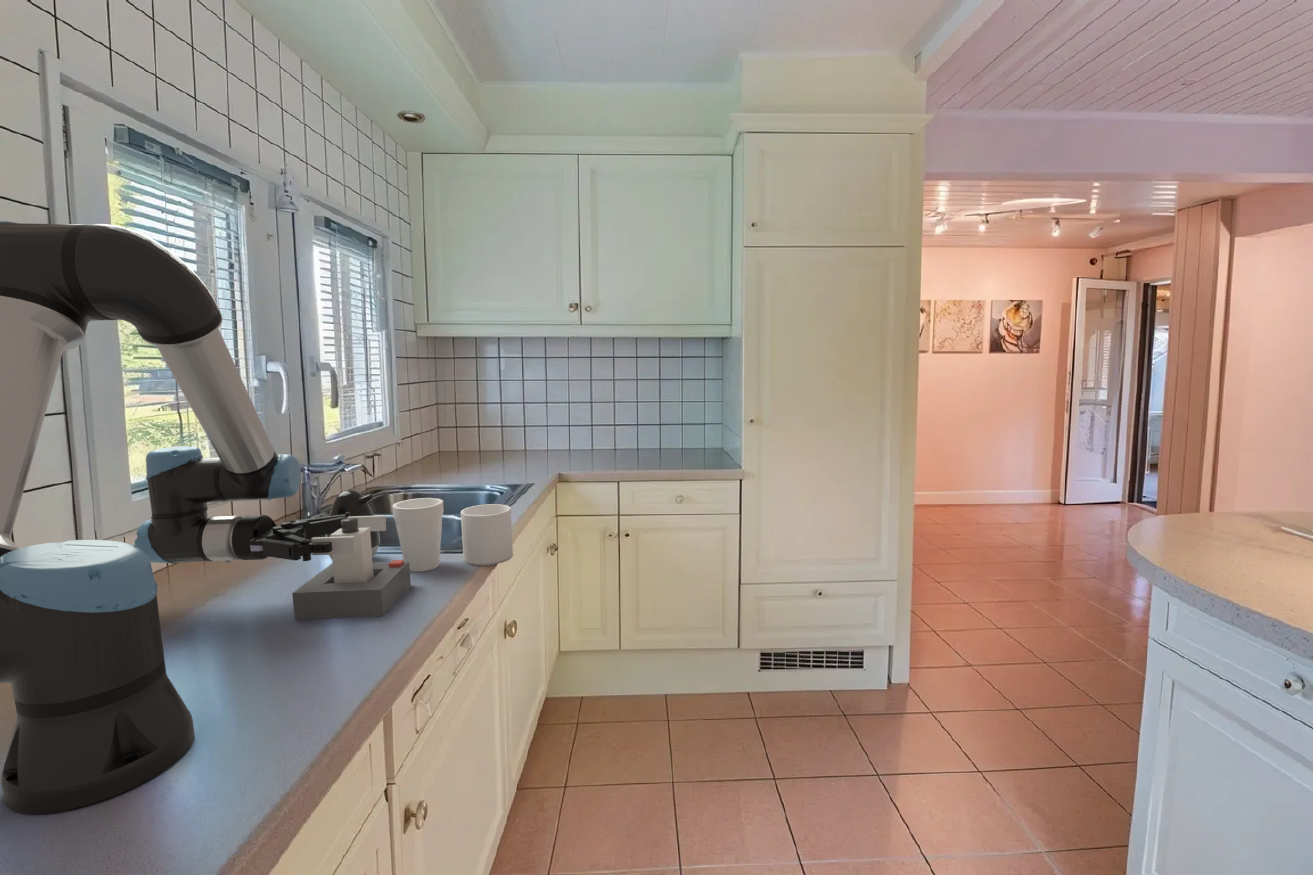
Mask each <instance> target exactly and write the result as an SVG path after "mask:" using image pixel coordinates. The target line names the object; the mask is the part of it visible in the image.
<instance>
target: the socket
mask: <svg viewBox="0 0 1313 875" xmlns="http://www.w3.org/2000/svg"><path fill="white" fill-rule="evenodd" d="M373 573H374V578H373V579H372V580H371V581H370V582H356V583H334V573H333V563H331V564H329V565H328V566H327V567H325V568H324V569H323V570H322V571H320V572H318V574H315V575H314V576H313V577H312V578H310V579H309V580H308V581H306V582H305V583H304V584H302V585H301V586H299V587H298V588H297V589H295V590H294V591H293V592H292V594H291V595H292V605H293V614H294V615H293V616H294V620H296V621H297V620H313V619H317V620H320V619H339V618H342V619H343V618H364V617H384V616H385V615H386V613H387V612H388V611H389V610H390V609H391V608H392V607H393V606H394V605H395V603H396V602H397V601H398V600H399V598H401V597H402V595H403V594H404V593H405V592H406V591H407V590H408V589H409V587H410V586H411V585H412V583H411V571H410V567H409V561H404V559H393V560H392V561H382V562H381V561H380V562H379V561H378V562H373Z"/></svg>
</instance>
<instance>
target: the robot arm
mask: <svg viewBox="0 0 1313 875" xmlns="http://www.w3.org/2000/svg"><path fill="white" fill-rule="evenodd" d="M117 320H118V321H124V322H127V323H129V324H131V325H133V326H134V327H135V330H136V331H137V332H138V334H139V336H140V338H141V339H142V340H143V341H144V342H146V343H148V344H149V345H150V344H151V345H154V346H156V348H157V350H158V351H159V353H160V354H161V356H162V358H163V360H164V361H165V363H166V366H167V367H168V369H169V371H170V373H171V375H172V376H173V378H174V379H175V381H176V384H177V385H178V386H179V389H180V390H181V393H182V395H183V396H184V398H185V399H186V402H187V403H188V405H189V406H190V408H191V411H192V412H193V414H194V415H195V417H196V419H197V420H198V422H199V424H200V425H201V428H202V429H203V431H204V433H205V435H206V437H207V439H208V440H209V442H210V444H211V445H212V447H213V449H214V451H215V453H216V455H217V457H204V456H203V454H202V450H201V449H200V448H199V447H198V446H195V445H194V446H188V445H183V446H171V447H163V448H157V449H153V450H151V451H149V452H148V453H147V454H146V456H145V468H146V469H145V470H146V476H145V480H146V482H147V487H148V488H147V489H148V495H149V502H150V503H149V504H150V510H151V511H150V512H151V518H150V519H147V520H145V521H144V522H142V523H141V524H140V525H139V527H138V528H137V530H136V538H135V539H134V544H131V543H128V542H123V541H118V540H106V539H73V540H66V541H62V542H45V543H38V544H34V545H28V546H24V547H19V546H18V545H17V544H16V543H15V542H14V541H13V540H12V538H11V537H12V535H13V534H12V533H13V530H14V526H15V523H16V520H17V516H18V512H19V508H20V505H21V501H22V498H23V495H24V491H25V487H26V484H27V480H28V476H29V473H30V470H31V466H32V462H33V459H34V456H35V452H36V448H37V444H38V441H39V437H40V434H41V431H42V427H43V423H44V420H45V416H46V412H47V409H48V405H49V402H50V399H51V394H52V391H53V389H54V388H53V387H54V385H55V381H56V377H57V373H58V370H59V366H60V362H61V359H62V355H63V352H66V351H69V350H72V349H75V348H78V347H79V346H80V345H82V343H83V341H84V339H85V336H86V331H87V328H88V324H89V323H90V322H93V321H95V322H96V321H117ZM222 324H223V315H222V314H221V311H220V308H219V307H218V305H217V302H216V300H215V298H214V296H213V295H212V293H211V292H210V290H209V288H208V287H207V286H206V285H205V283H204V282H203V281H202V279H201V278H200V277H199V276H198V275H197V273H195V272H194V270H193V269H192V268H191V267H190V266H189V265H188V264H187V263H185V261H183V260H182V259H181V258H180V257H178V255H176V254H175V253H174V252H172V250H170V249H168V248H167V247H165V246H164V245H162V244H161V243H160V242H158V241H157V240H154V239H153V238H151V237H149V236H147V235H145V234H143V233H141V232H138V231H136V230H134V229H130V228H127V227H124V226H120V225H114V224H109V223H108V224H106V223H93V224H81V223H80V224H79V223H78V224H76V223H30V222H29V223H25V222H24V223H21V222H13V221H5V220H4V221H2V220H1V221H0V684H5V683H9V684H11V689H12V695H13V698H14V704H15V705H14V706H15V713H16V720H15V726H14V728H13V732H12V736H11V740H10V744H9V746H8V749H7V753H6V758H5V761H4V765H3V769H2V772H1V779H0V784H1V790H2V796H3V802H4V804H5V806H6V807H7V808H8V809H10V810H12V811H15V812H17V813H21V814H35V815H36V814H38V815H39V814H52V813H59V812H64V811H70V810H74V809H77V808H82V807H85V806H88V805H89V806H90V805H92V804H95V803H98V802H101V801H105V800H107V799H110V798H113V797H116V796H118V795H121V794H124V793H126V792H127V791H130V790H132V789H134V788H136V787H138V786H140V785H142V784H144V783H146V782H148V781H149V780H152V779H154V778H155V777H157V776H158V775H160V774H161V773H163V772H165V771H166V770H167V769H169V768H170V767H172V766H173V765H174V764H176V763H177V762H178V761H179V760H180V759H182V757H183V756H184V755H186V753H187V752H188V751H189V750H190V748H191V746H192V745H193V742H194V741H195V728H194V719H193V716H192V714H191V712H190V710H189V709H188V707H187V705H186V704H185V701H183V698H182V697H181V696H180V694H179V692H178V691H177V689H176V687H175V686H174V685H173V684H174V683H172V681H171V680H170V677H168V674H167V668H166V662H165V654H164V653H165V652H164V642H163V636H162V626H161V619H160V611H159V603H158V595H157V594H158V590H159V589H158V583H157V581H156V579H155V575H154V572H153V567H152V563H153V564H170V565H171V564H172V565H173V564H175V565H176V564H181V563H182V564H184V563H199V562H220V561H223V563H224V564H228V565H229V564H230V563H231V562H232V561H241V560H242V561H256V560H257V561H261V560H265V559H268V558H269V557H270V558H276V559H282V560H289V561H299V560H301V559H302V562H310V561H312V556H324V555H325V556H326V555H328V556H329V555H331V554H354V553H356V544H355V536H341V537H325V536H324V535H326V534H331V533H334V532H336V531H337V530H339V529H340V528H341V520H343V519H346V518H358V528H368V527H370V531H379V532H385V531H386V530H387V521H386V515H385V514H384V515H383V514H382V515H374V516H352V517H351V516H350V512H345V514H342V515H334V516H329V515H327V516H319V517H313V518H311V517H310V518H305V519H304V518H303V519H291V520H289V521H287V522H282V523H280V525H277V523H275V522H274V519H273V518H271V516H269V515H266V514H258V515H257V514H252V515H244V516H243V515H221V516H209V515H208V503H209V504H210V503H221V502H223V503H224V502H242V501H243V502H244V501H263V500H264V501H265V500H266V501H271V500H276V499H283V498H284V499H285V498H291V497H293V496H295V495H296V493H297V492H298V490H299V487H300V484H301V477H302V476H301V466H300V463H299V461H298V459H297V458H296V457H295V456H294V455H292V454H283V453H279V454H277V452H276V451H275V448H274V447H273V444H272V443H271V441H270V438H269V436H268V434H267V432H266V430H265V427H264V425H263V423H262V421H261V418H260V416H259V414H258V412H257V410H256V407H255V405H254V403H253V401H252V398H251V397H250V395H249V392H248V390H247V388H246V386H245V383H244V381H243V379H242V377H241V375H240V373H239V370H238V368H237V366H236V364H235V362H234V360H233V359H234V358H232V355H231V353H230V351H229V349H228V346H227V344H226V342H225V339H224V338H223V336H222V333H221V331H220V327H221V326H222ZM320 536H321V537H320ZM310 540H311V541H310Z"/></svg>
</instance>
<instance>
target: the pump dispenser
mask: <svg viewBox="0 0 1313 875" xmlns="http://www.w3.org/2000/svg"><path fill="white" fill-rule="evenodd" d="M373 499H374V494H367V495H362V493H361V492H359V491H358V490H355V489H347V490H343V491H341V492H340V493H339V494H337V496H336V497H335V498H334V501H333V502H332V505H331V506H330V511H329V513H328V516H334V515H342V514H345V512H350V516H351V517H352V516H375V515H374V513H373V510H372V508H371V506H370V504H369V502H370V501H371V500H373ZM331 534H332V533H331ZM331 534H326V535H325V536H324V537H330V535H331ZM370 536H371V548H372V559H373V558H374V557H375V555H376V554H377V552H378V549H379V545H380V543H381V537H380V531H370ZM328 556H329V557H330V559H331V560H332V554H331V555H328Z"/></svg>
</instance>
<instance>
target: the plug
mask: <svg viewBox="0 0 1313 875" xmlns="http://www.w3.org/2000/svg"><path fill="white" fill-rule="evenodd" d="M341 536H355V544H356V553H354V554H332V559H331V561H332V564H333V573H334V583H356V582H370V581H371V580H372V579H373V578H374V573H373V563H374V561H373V558H372V548H371V536H370V527H368V528H358V518H346V519H343V520H341V528H340V529H339V530H337V531H336V532H334V533H332V534H331V535H330V537H341Z"/></svg>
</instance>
